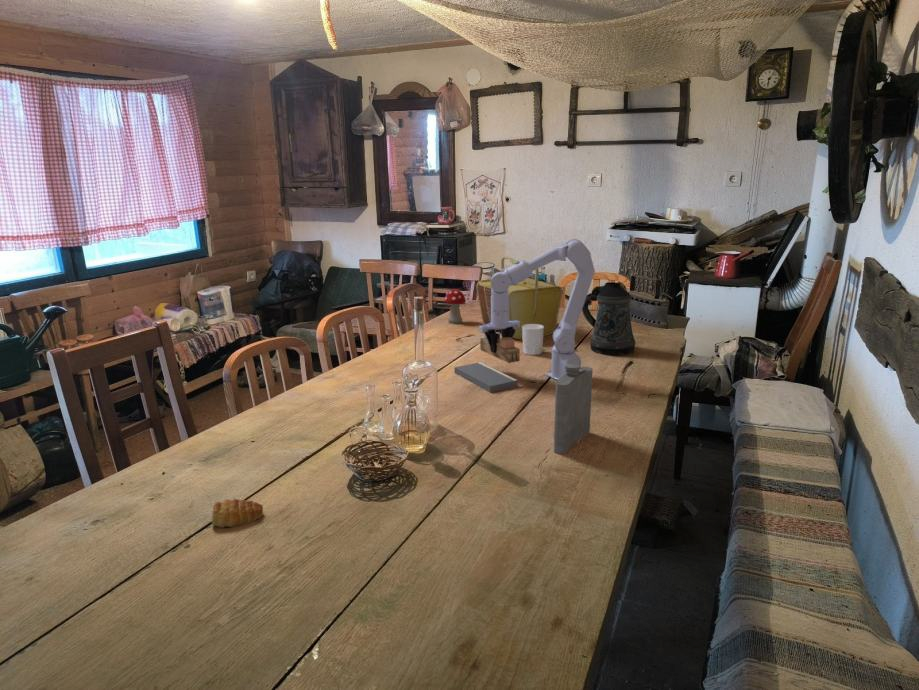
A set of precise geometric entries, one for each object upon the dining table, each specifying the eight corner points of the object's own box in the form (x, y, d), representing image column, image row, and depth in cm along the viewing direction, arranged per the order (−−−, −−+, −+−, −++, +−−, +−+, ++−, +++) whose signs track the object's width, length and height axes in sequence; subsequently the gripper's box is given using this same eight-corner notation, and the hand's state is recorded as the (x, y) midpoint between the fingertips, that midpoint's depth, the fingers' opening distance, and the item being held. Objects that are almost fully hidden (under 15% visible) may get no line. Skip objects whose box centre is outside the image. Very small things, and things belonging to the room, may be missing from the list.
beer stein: (639, 355, 221) (644, 287, 214) (585, 356, 222) (588, 288, 215) (628, 343, 237) (632, 279, 230) (578, 343, 237) (580, 279, 231)
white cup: (542, 349, 230) (543, 324, 227) (543, 356, 223) (544, 329, 220) (521, 349, 231) (522, 323, 228) (521, 355, 223) (522, 329, 221)
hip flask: (563, 455, 145) (566, 375, 140) (548, 451, 148) (550, 372, 142) (591, 432, 158) (595, 358, 152) (577, 429, 160) (580, 355, 155)
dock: (517, 386, 192) (517, 380, 191) (490, 392, 187) (490, 385, 186) (479, 367, 210) (479, 362, 210) (454, 372, 205) (454, 366, 205)
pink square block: (514, 347, 195) (514, 339, 194) (505, 348, 193) (505, 341, 193) (508, 344, 198) (508, 337, 197) (499, 346, 196) (499, 338, 196)
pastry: (264, 506, 125) (262, 490, 124) (262, 524, 119) (260, 507, 118) (215, 513, 123) (213, 496, 122) (211, 532, 117) (208, 514, 116)
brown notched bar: (519, 361, 194) (519, 348, 193) (508, 363, 192) (509, 350, 191) (490, 348, 208) (490, 336, 207) (480, 350, 206) (480, 338, 205)
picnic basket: (475, 326, 265) (474, 257, 257) (526, 320, 276) (527, 253, 267) (508, 343, 240) (508, 266, 232) (563, 335, 250) (566, 261, 242)
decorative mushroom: (469, 321, 274) (469, 288, 270) (459, 325, 267) (459, 292, 263) (451, 319, 279) (450, 286, 275) (440, 323, 272) (439, 289, 268)
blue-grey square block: (499, 341, 202) (499, 333, 201) (490, 342, 200) (490, 335, 200) (494, 338, 205) (494, 331, 204) (485, 340, 203) (485, 332, 202)
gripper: (511, 305, 203) (510, 344, 206) (473, 310, 196) (474, 351, 200) (523, 309, 197) (523, 350, 201) (485, 314, 190) (485, 356, 194)
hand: (499, 351), depth 200 cm, fingers closed on brown notched bar, 4 cm apart
